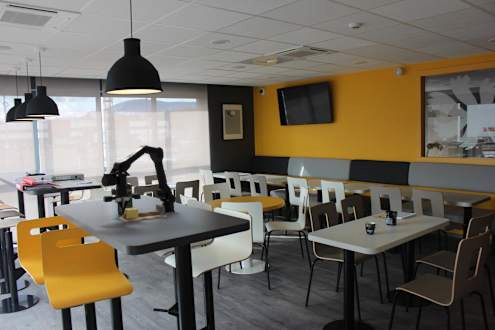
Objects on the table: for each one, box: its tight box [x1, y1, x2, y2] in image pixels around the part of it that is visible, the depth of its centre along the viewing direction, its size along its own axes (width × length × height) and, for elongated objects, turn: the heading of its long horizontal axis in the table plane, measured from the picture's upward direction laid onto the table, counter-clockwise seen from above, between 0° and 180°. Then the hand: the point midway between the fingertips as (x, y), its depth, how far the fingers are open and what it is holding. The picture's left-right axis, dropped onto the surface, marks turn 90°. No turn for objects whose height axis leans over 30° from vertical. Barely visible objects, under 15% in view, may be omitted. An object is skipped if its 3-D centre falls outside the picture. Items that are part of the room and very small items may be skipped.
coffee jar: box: [117, 183, 134, 216], centre depth 235 cm, size 10×8×19 cm
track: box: [119, 203, 167, 223], centre depth 221 cm, size 23×12×6 cm, turn 119°
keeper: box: [124, 206, 139, 219], centre depth 218 cm, size 6×8×4 cm
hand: (122, 213), depth 216 cm, fingers closed
